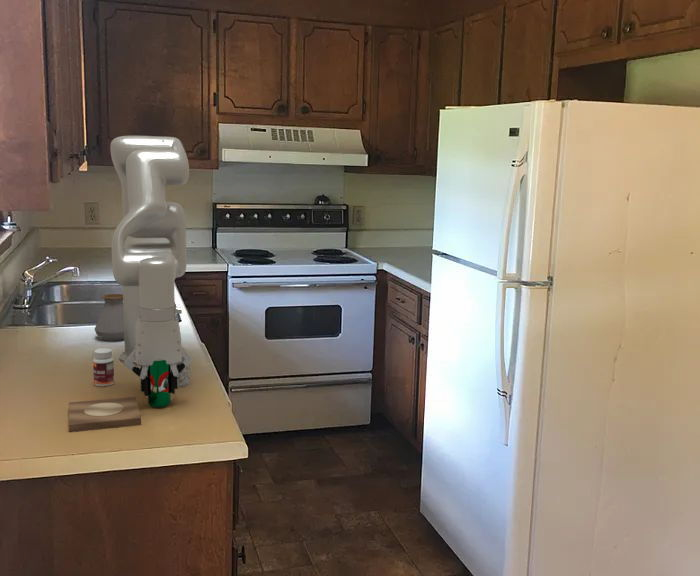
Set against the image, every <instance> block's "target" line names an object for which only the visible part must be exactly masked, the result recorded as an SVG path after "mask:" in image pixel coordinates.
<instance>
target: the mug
mask: <svg viewBox="0 0 700 576" xmlns="http://www.w3.org/2000/svg"><path fill="white" fill-rule="evenodd" d="M183 359H184V357H183V356H182V360H183ZM182 360H181V362H182ZM179 363H180V362H179ZM179 363H177V364H176V366H177V365H178V364H179ZM190 364H191V362H190V363H189V364H188V365H187V366H185V368H184V369H183V370H182V371H181V372H180V373H179V375H178V376H177V389H180V388H179V387H181V388H185V387H188V386H189V385H190V384H191V377H190V376H191V375H190V372H191V371H190V369H191V367H190V366H191V365H190ZM171 371H172V370H171V368H170V372H171ZM187 385H188V386H187Z"/></svg>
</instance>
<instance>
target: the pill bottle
mask: <svg viewBox="0 0 700 576" xmlns="http://www.w3.org/2000/svg"><path fill="white" fill-rule="evenodd" d="M112 355H113V350H112V349H110V348H106V347H105V348H97V349H95V350H94V355H93V357H94V358H93V360H92V369H93V370H92V372H93V385H94V386H97V387H101V388H103V387H110V386H112V385H114V384H115V363H114V361H115V360H114V357H112Z"/></svg>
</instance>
